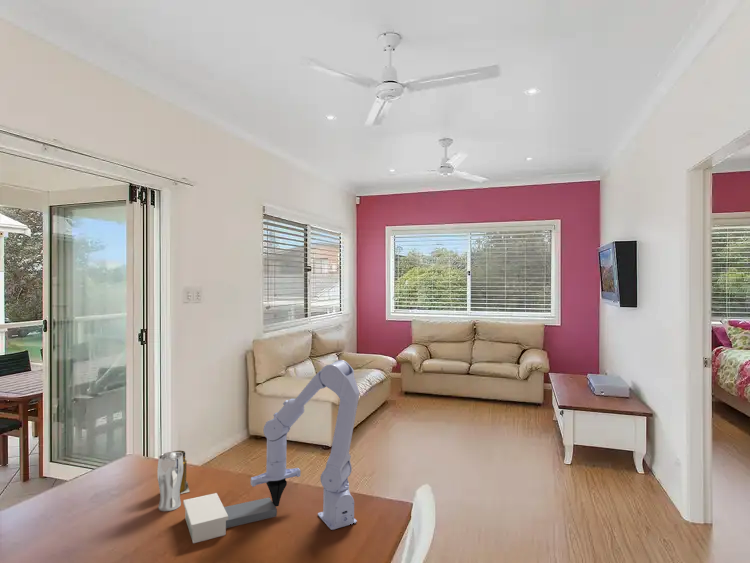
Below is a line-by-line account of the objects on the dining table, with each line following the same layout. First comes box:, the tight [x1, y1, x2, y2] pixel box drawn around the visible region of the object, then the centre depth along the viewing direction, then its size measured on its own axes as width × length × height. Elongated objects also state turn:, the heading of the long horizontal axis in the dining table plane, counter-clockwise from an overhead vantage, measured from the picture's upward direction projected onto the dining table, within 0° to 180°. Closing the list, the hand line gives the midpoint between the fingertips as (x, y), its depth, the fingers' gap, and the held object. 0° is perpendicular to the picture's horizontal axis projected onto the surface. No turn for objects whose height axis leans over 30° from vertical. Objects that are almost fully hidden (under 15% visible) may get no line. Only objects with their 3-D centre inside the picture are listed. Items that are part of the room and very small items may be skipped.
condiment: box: [172, 450, 190, 495], centre depth 142 cm, size 7×8×12 cm
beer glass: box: [156, 451, 183, 512], centre depth 131 cm, size 7×7×15 cm
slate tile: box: [224, 497, 278, 529], centre depth 126 cm, size 8×14×2 cm, turn 118°
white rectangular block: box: [182, 492, 228, 544], centre depth 120 cm, size 15×9×5 cm, turn 31°
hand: (275, 505), depth 130 cm, fingers closed
